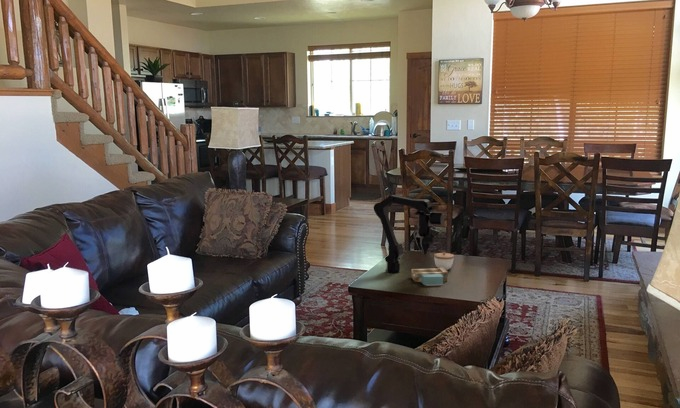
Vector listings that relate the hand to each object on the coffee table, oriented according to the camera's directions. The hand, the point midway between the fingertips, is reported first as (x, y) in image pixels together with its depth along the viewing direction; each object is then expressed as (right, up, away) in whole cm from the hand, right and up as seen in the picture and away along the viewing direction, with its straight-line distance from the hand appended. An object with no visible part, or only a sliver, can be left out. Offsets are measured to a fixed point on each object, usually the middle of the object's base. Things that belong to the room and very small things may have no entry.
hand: (422, 252), depth 299 cm
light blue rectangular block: (+3, -15, -12) cm, 19 cm away
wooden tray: (+4, -14, -4) cm, 15 cm away
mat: (+3, -15, -12) cm, 20 cm away
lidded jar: (+14, -11, +18) cm, 25 cm away
